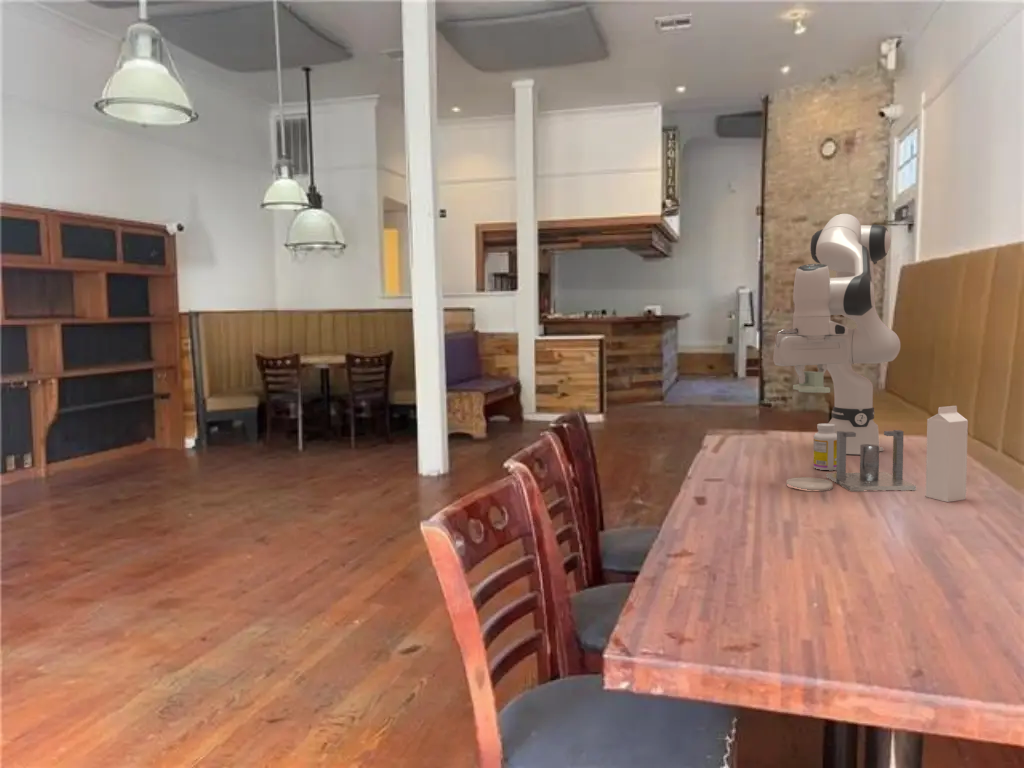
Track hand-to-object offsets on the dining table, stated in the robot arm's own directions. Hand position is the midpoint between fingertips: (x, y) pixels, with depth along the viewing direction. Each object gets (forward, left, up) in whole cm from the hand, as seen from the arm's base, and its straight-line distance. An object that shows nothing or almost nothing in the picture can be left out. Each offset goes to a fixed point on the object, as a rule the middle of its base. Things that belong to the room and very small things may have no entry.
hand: (810, 382), depth 190 cm
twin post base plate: (-2, +16, -27) cm, 31 cm away
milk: (+14, +27, -27) cm, 41 cm away
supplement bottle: (-21, +12, -27) cm, 36 cm away
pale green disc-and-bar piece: (0, 0, -2) cm, 2 cm away
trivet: (0, 0, -27) cm, 27 cm away
